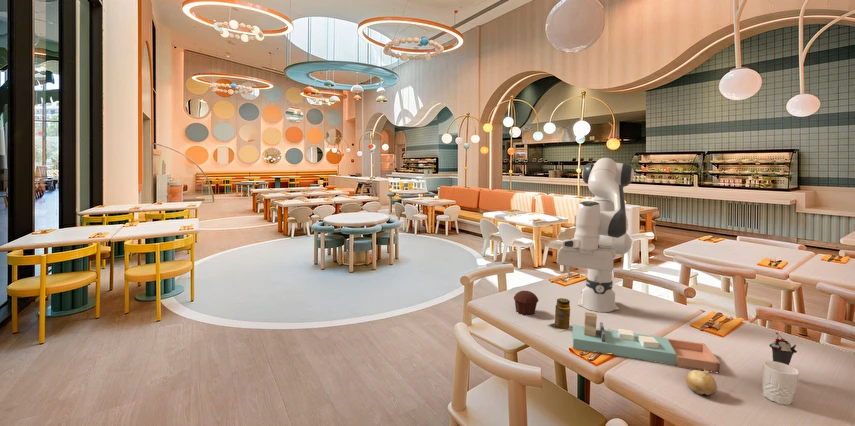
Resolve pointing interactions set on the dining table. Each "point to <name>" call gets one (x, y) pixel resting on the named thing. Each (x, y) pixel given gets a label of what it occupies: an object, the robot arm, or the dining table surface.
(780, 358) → the sundae
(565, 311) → the condiment
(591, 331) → the scraper
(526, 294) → the muffin
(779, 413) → the dining table surface
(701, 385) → the tan oval lump
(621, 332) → the tile
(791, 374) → the white cup
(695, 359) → the tray
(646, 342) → the tile
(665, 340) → the board
